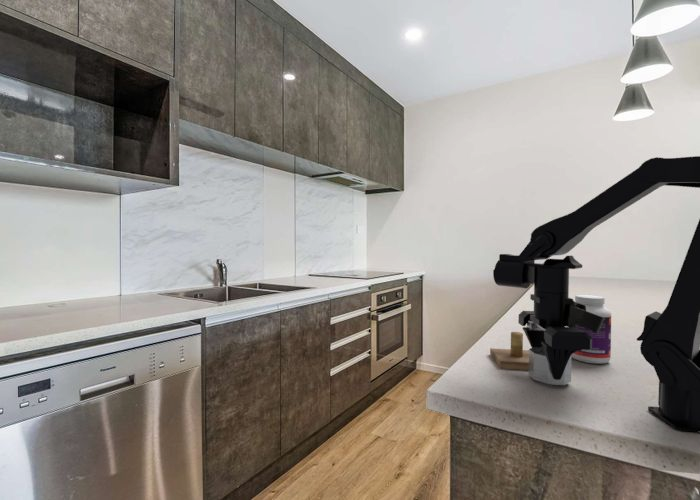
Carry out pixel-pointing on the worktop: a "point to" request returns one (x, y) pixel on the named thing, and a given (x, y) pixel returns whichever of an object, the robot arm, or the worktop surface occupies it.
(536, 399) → the worktop surface
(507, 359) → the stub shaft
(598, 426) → the worktop surface
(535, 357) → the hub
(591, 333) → the pill bottle
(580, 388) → the worktop surface
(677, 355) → the robot arm
